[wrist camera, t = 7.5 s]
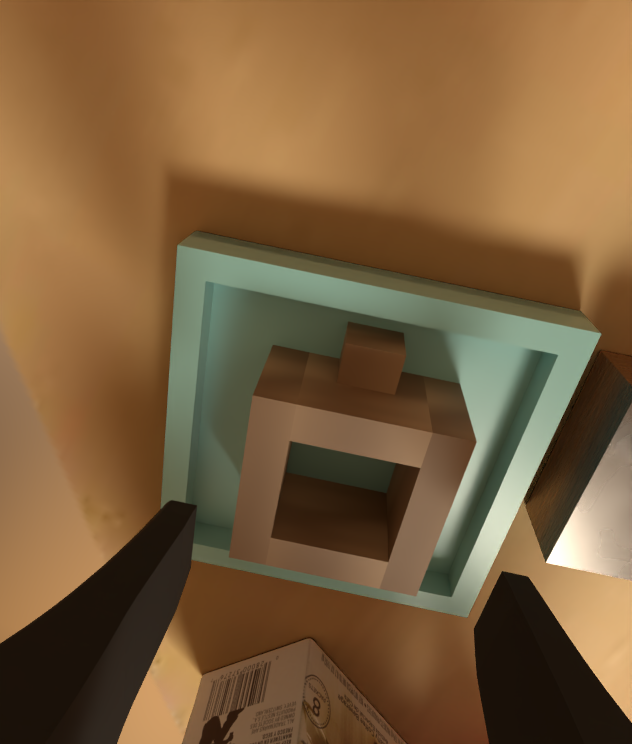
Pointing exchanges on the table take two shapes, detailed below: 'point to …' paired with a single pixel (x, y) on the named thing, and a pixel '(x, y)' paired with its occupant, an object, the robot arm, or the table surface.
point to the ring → (360, 437)
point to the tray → (325, 337)
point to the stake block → (591, 477)
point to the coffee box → (284, 703)
